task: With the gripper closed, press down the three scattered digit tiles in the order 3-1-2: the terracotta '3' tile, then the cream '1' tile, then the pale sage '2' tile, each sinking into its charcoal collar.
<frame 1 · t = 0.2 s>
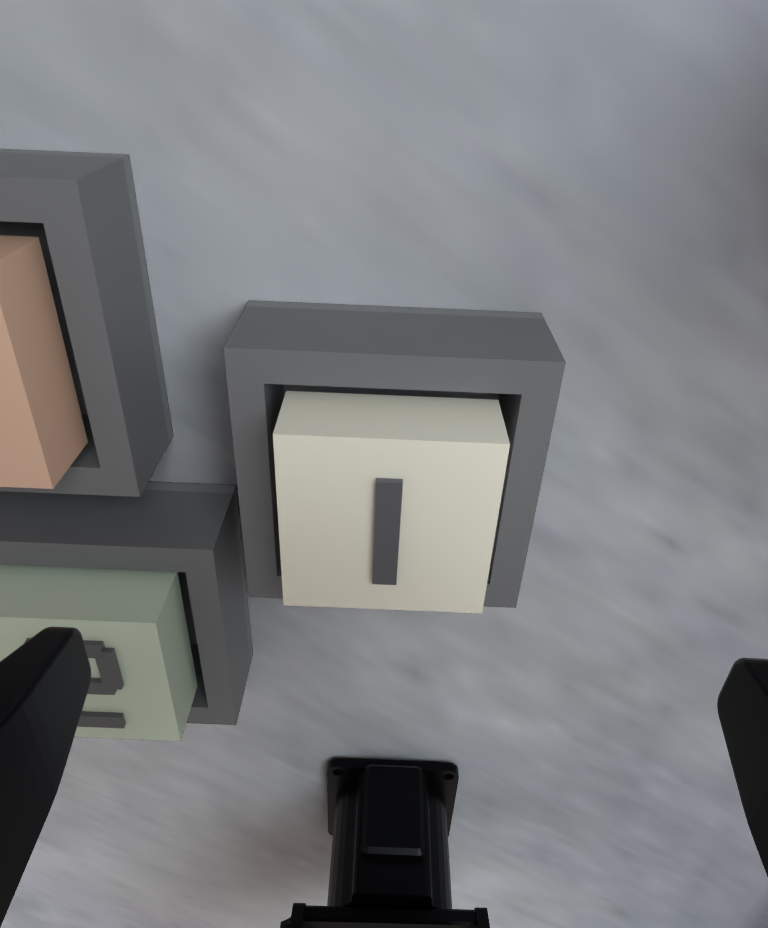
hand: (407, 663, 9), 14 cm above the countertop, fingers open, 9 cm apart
tile 2: (91, 656, 23), point 4 cm above the countertop, slide at 0.0 cm
tile collars: (189, 448, 24), on the countertop
tile 1: (387, 507, 20), point 4 cm above the countertop, slide at 0.0 cm
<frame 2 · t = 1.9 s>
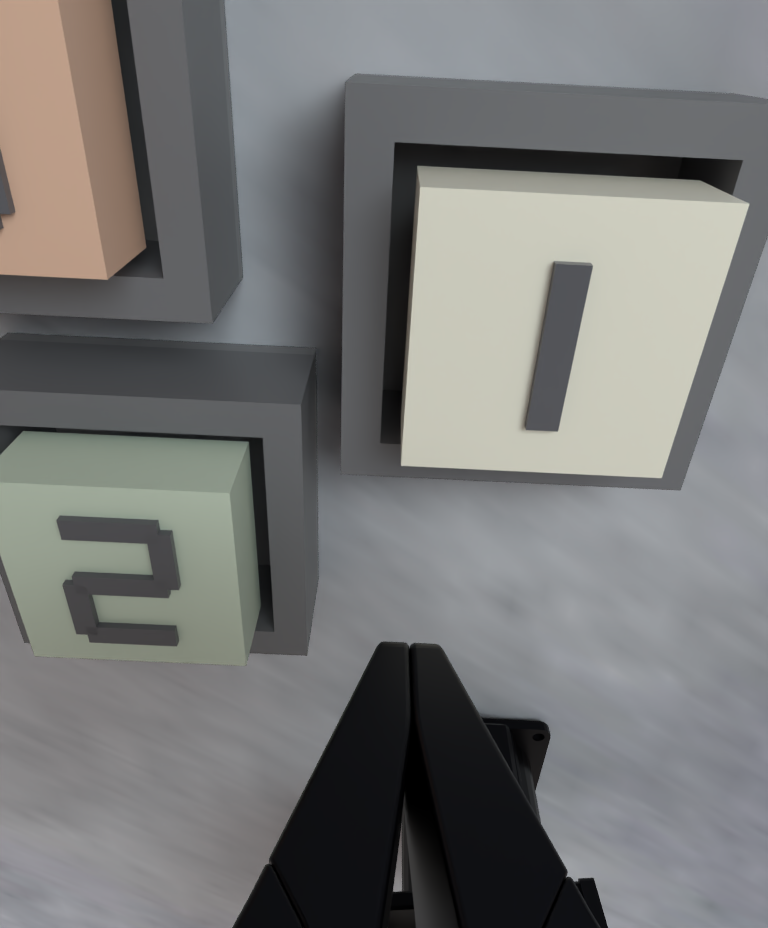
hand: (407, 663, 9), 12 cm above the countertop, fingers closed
tile 2: (137, 554, 18), point 4 cm above the countertop, slide at 0.0 cm
tile collars: (262, 295, 19), on the countertop
tile 1: (545, 330, 15), point 4 cm above the countertop, slide at 0.0 cm
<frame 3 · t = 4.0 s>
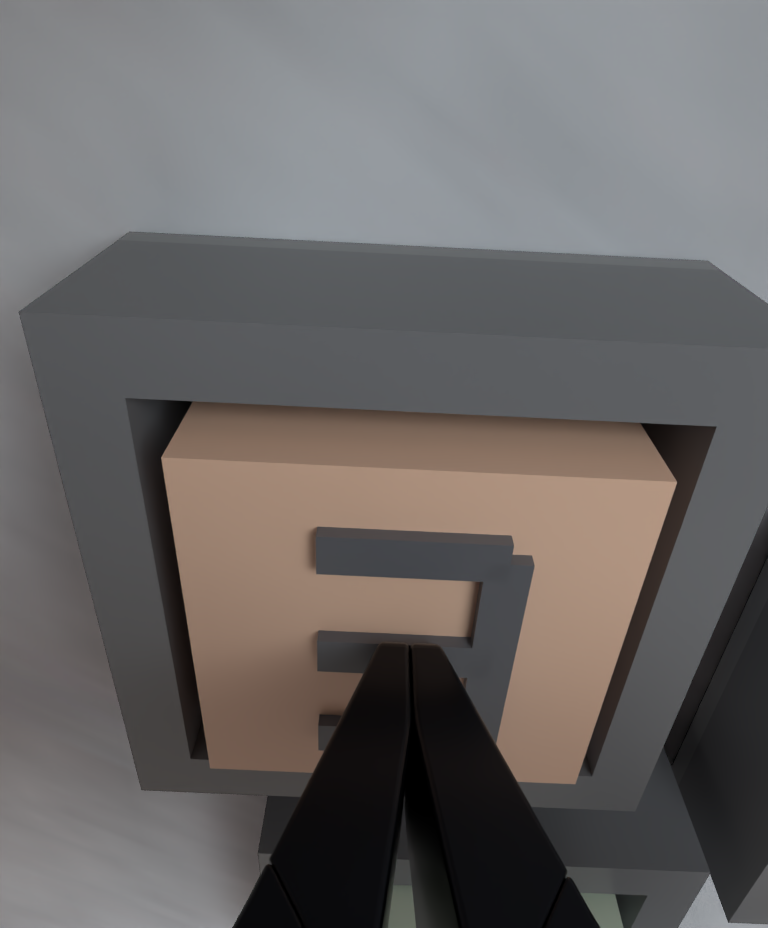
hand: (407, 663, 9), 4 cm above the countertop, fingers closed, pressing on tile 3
tile collars: (605, 673, 16), on the countertop
tile 3: (403, 594, 10), point 3 cm above the countertop, slide at 1.3 cm, touching gripper
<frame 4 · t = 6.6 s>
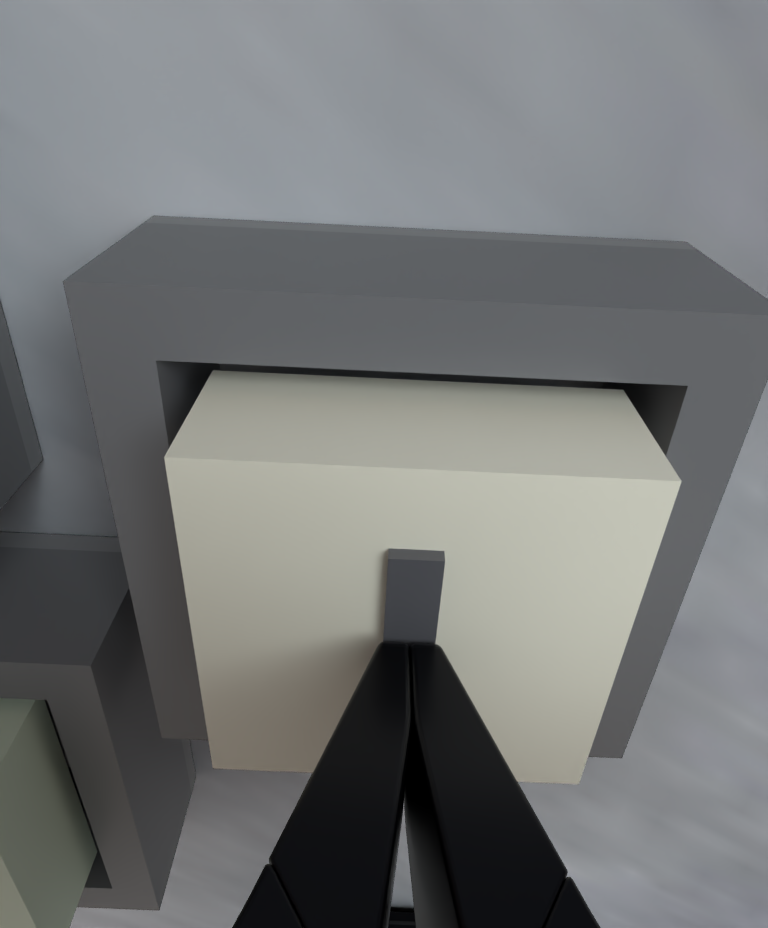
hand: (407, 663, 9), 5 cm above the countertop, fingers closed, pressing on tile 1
tile collars: (72, 480, 14), on the countertop
tile 1: (406, 594, 10), point 4 cm above the countertop, slide at 0.3 cm, touching gripper
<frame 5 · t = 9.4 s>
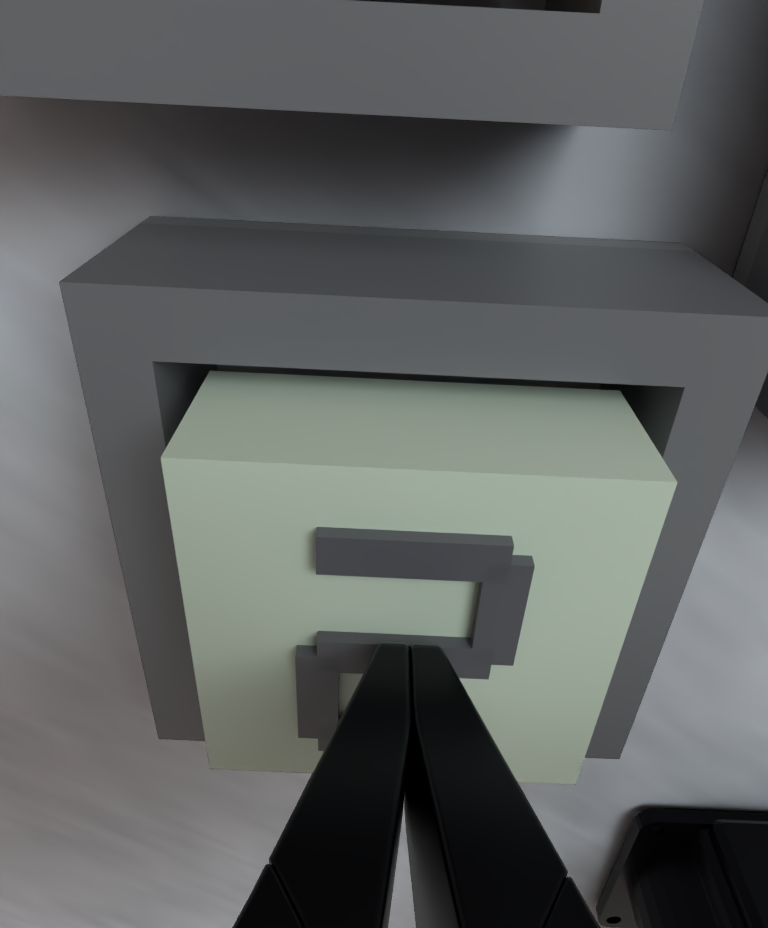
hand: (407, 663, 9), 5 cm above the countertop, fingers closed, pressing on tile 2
tile 2: (403, 594, 10), point 4 cm above the countertop, slide at 0.3 cm, touching gripper
tile collars: (616, 140, 11), on the countertop
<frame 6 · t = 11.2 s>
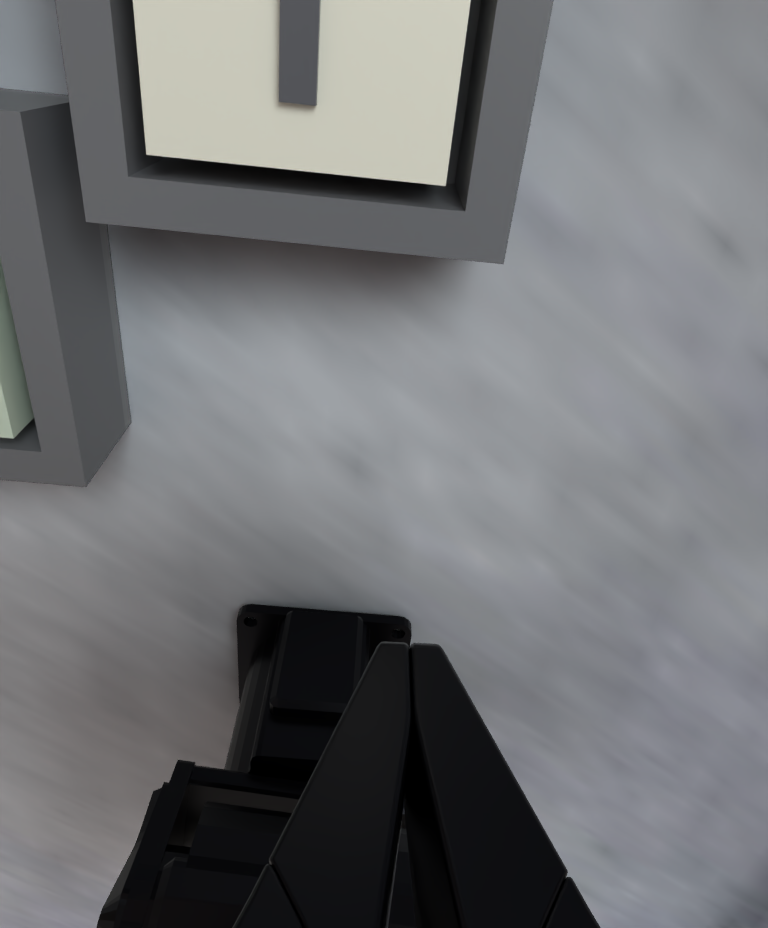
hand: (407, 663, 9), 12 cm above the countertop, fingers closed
tile collars: (15, 16, 15), on the countertop
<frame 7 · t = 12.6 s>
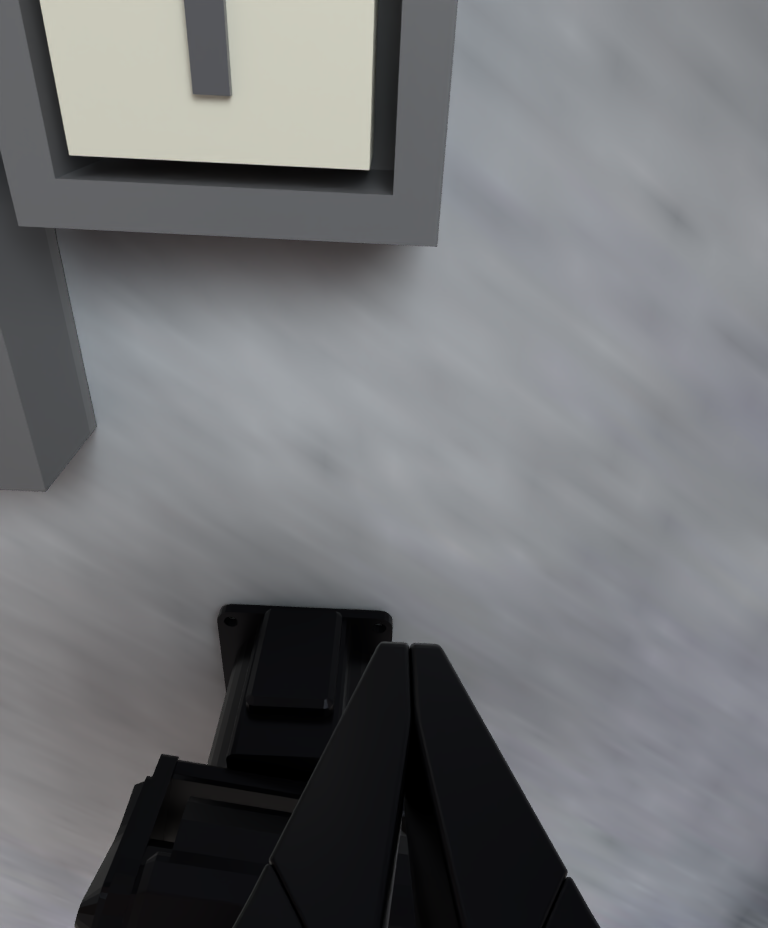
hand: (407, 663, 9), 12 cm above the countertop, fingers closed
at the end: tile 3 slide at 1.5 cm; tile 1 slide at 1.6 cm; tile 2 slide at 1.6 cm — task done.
